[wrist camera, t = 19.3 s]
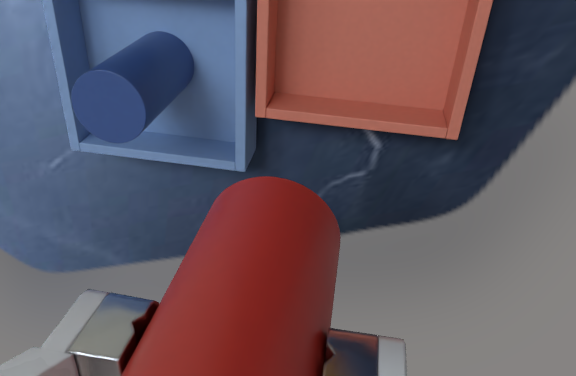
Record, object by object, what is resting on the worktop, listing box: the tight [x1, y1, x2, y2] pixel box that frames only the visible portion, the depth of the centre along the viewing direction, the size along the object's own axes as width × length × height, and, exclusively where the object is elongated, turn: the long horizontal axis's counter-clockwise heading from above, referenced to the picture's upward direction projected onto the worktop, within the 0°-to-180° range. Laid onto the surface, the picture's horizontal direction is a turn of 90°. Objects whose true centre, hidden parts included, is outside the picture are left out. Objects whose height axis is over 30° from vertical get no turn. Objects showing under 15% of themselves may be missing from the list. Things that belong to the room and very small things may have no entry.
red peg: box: [121, 177, 340, 376], centre depth 10 cm, size 4×4×7 cm
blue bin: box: [42, 0, 257, 172], centre depth 28 cm, size 11×10×3 cm
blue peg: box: [71, 31, 194, 143], centre depth 26 cm, size 4×4×7 cm
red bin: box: [255, 0, 493, 140], centre depth 25 cm, size 11×10×3 cm
